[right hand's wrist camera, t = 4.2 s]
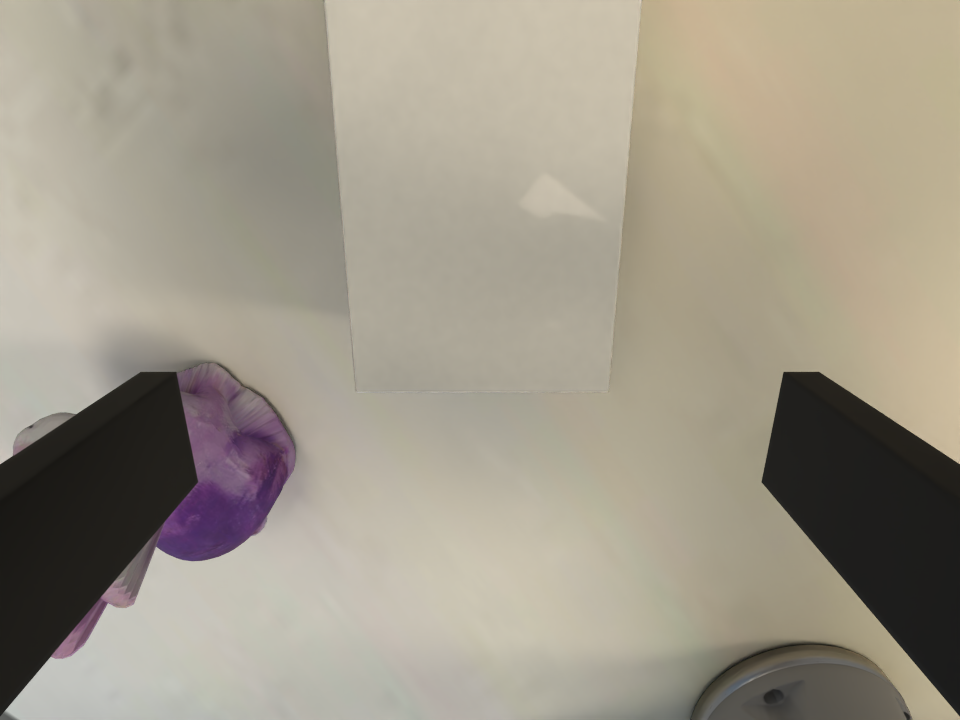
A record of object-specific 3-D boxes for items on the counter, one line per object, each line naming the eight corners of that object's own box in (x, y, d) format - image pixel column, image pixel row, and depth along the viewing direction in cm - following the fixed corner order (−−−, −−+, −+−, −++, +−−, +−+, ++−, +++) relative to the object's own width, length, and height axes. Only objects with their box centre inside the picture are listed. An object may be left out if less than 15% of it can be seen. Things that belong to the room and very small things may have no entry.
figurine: (155, 331, 32) (-94, 469, 18) (323, 403, 34) (212, 580, 20) (115, 461, 35) (-125, 666, 21) (272, 522, 37) (143, 750, 23)
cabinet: (366, -123, 25) (299, -284, 16) (597, -123, 25) (667, -284, 16) (391, 323, 32) (355, 393, 23) (572, 323, 32) (609, 393, 23)
